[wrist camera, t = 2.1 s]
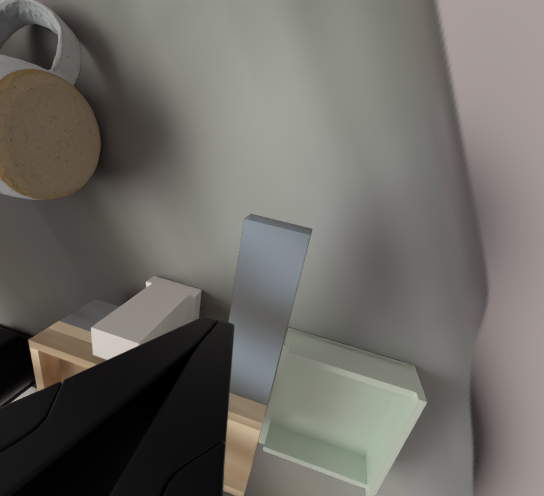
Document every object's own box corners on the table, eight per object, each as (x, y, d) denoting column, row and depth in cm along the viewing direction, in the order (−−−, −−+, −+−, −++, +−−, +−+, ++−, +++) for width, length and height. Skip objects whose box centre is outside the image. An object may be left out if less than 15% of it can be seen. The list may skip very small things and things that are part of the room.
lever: (262, 425, 22) (242, 498, 17) (99, 366, 24) (42, 417, 19) (316, 215, 15) (307, 243, 11) (85, 160, 17) (-5, 163, 13)
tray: (368, 456, 23) (372, 499, 20) (264, 419, 24) (254, 454, 21) (414, 365, 19) (427, 402, 16) (288, 327, 20) (280, 355, 17)
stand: (190, 401, 25) (144, 479, 19) (151, 387, 26) (94, 458, 20) (201, 289, 21) (146, 346, 15) (154, 275, 21) (83, 324, 15)
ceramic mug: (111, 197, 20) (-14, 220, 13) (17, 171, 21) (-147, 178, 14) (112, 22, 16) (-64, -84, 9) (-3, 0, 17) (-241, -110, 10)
